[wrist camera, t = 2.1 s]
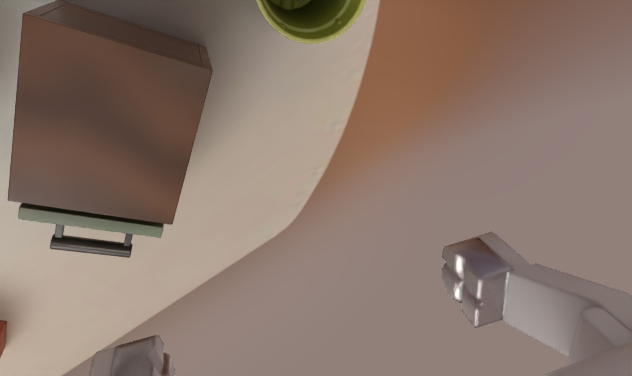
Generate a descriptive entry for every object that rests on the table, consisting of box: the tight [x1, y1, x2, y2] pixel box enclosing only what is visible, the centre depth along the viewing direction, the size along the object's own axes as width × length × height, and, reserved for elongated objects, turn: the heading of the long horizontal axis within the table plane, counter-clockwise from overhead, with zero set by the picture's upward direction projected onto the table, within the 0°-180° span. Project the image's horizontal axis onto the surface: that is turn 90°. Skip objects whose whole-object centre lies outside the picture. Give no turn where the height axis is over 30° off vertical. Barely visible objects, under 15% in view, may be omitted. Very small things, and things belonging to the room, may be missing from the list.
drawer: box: [18, 203, 164, 258], centre depth 39 cm, size 18×11×8 cm, turn 159°
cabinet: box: [8, 0, 212, 225], centre depth 37 cm, size 15×13×10 cm
